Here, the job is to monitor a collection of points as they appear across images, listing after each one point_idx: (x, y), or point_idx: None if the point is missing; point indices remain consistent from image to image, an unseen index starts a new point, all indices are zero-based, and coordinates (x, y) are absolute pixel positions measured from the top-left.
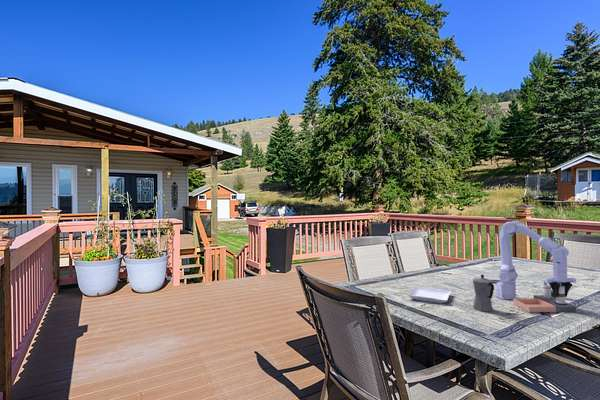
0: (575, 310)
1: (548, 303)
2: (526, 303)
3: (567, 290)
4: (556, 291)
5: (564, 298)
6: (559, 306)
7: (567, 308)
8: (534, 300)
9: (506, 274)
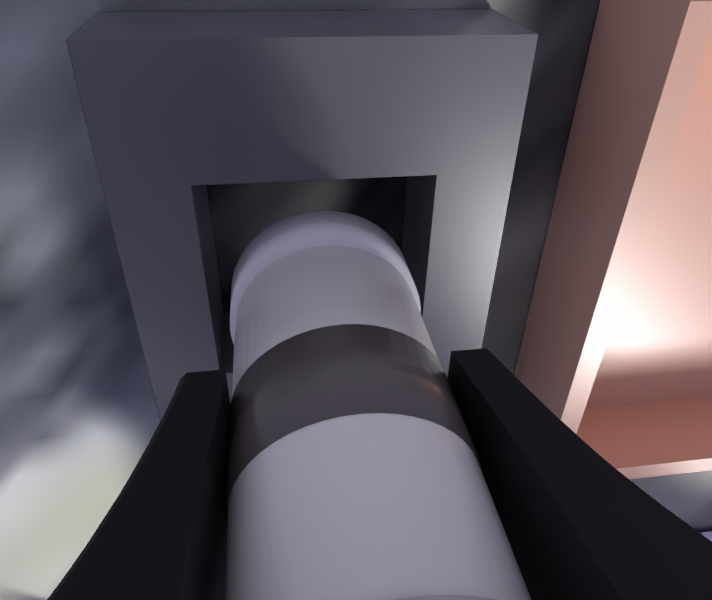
0: (109, 15)
1: (632, 239)
2: (698, 398)
3: (146, 563)
4: (625, 478)
5: (279, 315)
6: (512, 76)
7: (323, 26)
8: (602, 446)
9: None
